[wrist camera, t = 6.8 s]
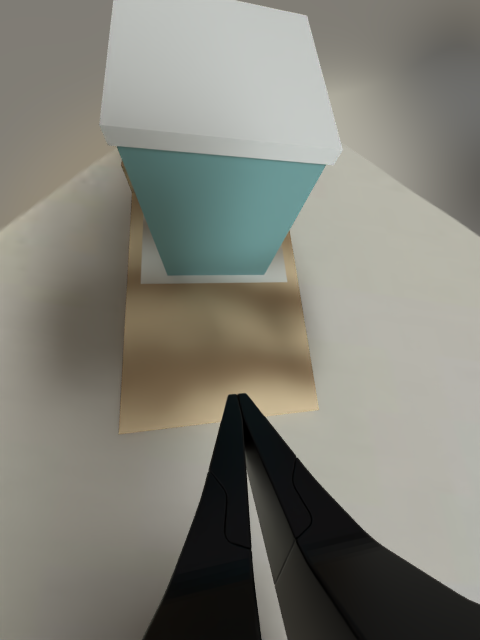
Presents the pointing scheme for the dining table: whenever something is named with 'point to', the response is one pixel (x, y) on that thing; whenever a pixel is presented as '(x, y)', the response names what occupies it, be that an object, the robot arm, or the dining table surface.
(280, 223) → the tin
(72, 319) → the dining table surface
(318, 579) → the robot arm
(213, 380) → the plinth board
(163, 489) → the dining table surface
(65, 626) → the dining table surface
